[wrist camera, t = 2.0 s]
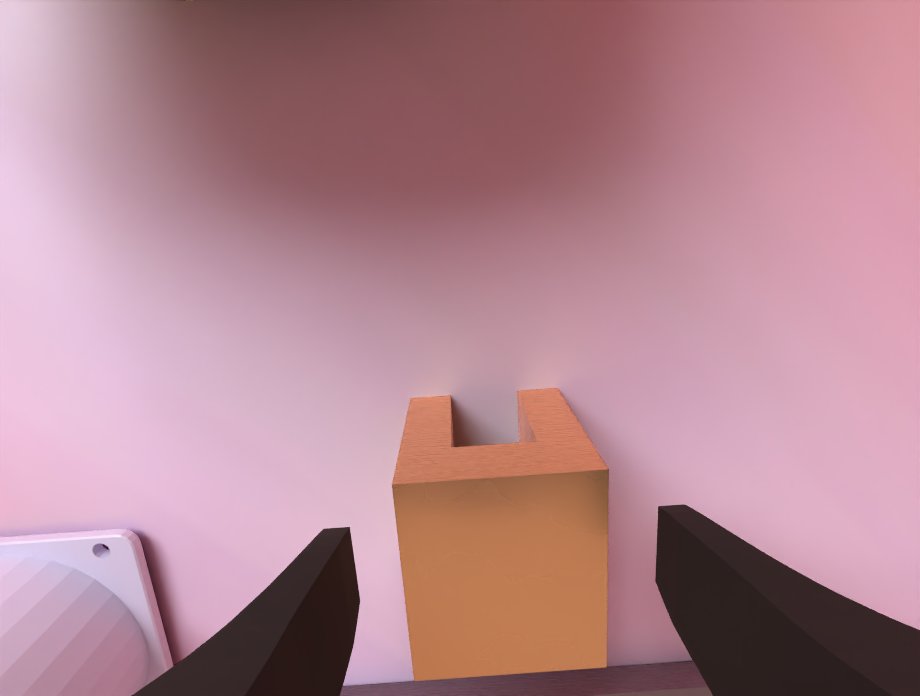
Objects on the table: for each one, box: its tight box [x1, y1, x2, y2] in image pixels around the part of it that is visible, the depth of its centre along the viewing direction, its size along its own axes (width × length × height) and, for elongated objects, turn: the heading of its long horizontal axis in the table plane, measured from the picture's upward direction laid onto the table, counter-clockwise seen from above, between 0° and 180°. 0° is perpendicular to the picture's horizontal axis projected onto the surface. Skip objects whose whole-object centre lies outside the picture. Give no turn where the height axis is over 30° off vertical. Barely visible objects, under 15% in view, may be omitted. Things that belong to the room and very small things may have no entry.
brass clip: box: [392, 388, 609, 681], centre depth 13 cm, size 4×5×5 cm
